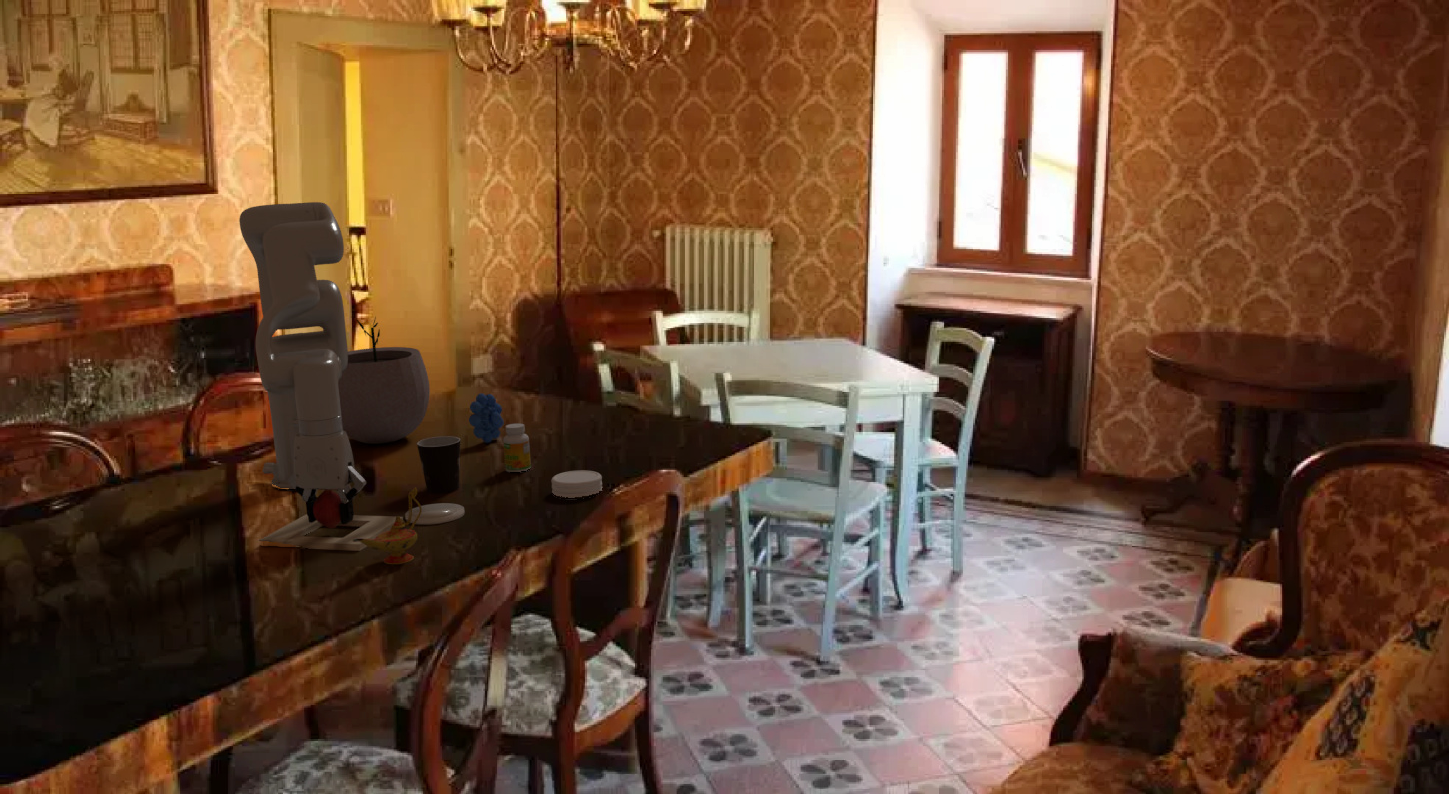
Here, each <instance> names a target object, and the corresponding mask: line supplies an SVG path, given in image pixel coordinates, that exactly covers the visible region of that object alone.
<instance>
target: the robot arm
mask: <svg viewBox="0 0 1449 794" xmlns="http://www.w3.org/2000/svg"><path fill="white" fill-rule="evenodd" d="M238 221H239V229H240V233H241V236H242V237H243V240H244V243H245V245H246V246H247V248H248V249H249V251H250V253H251V255H252V257H253V260H254V262H255V264H256V270H257V278H258V279H257V280H258V288H259V289H258V290H259V296H260V305H261V307H260V308H261V313H262V319H261V321H260V322H259V324H258V327H257V330H256V335H255V354H256V359H257V367H258V371H259V378H260V381H261V384H262V386H263V388H264V390H265V391H266V392H267V396H268V403H269V408H270V409H269V410H270V412H269V413H270V416H271V417H270V418H271V419H270V420H271V425H272V434H273V435H272V436H273V442H274V451H275V461H276V462H265V463H264V464H263V468H262V473H263V474H268V475H269V474H272V475H273V478H272V479H271V480H272V481H271V482H270V484H271V483H272V484H273V485H276V486H278V487H280V488H289V489H296V490H295V492H296V493H298V494H299V496H301V499H302V501H303V502H305V507H306V514H307V516H308V519H309V522H310V523H313V522H314V521H316V518H315V517H314V514H313V506H314V503H315V501H316V499H317V498H318V496H317V492H318V490H319V491H320V490H321V491H325V490H332V491H336V493H337V494H338V495H339V497H340V499H341V501H342V503H340V504H339V509H340V518H341V523H342V524H347V523H348V522H350V521H351V520H353V516H354V515H355V513H354V505H353V504H354V503H353V502H354V501H353V500H354V499H355V498H356V497H357V495H358V494H359V493H360V491H361V490H362V489H364V487H365V486H366V485H367V480H365V478H364V477H363V476H362V475H361V474H360V473H359V472H358V471H357V470H356V467H355V460H354V455H353V451H352V447H351V442H350V440H349V437H348V436H347V433H346V431H343V426H342V416H341V408H340V398H339V388H338V382H339V379H340V378H341V376H342V373H343V372H344V371H345V370H346V368H347V365H348V350H349V349H348V339H347V331H346V330H347V329H346V319H345V317H346V316H345V310H344V309H345V308H344V301H343V297H342V292H341V290H340V288H339V287H338V285H337V283H335V282H334V281H332V280H330V279H317V273H316V269H315V266H320V265H321V266H323V265H333V264H334V265H335V264H337V263H339V262H340V261H342V259H343V258H344V257H343V256H344V251H345V248H344V246H345V245H344V238H343V233H342V230H341V227H340V225H339V223H338V221H337V219H336V217H335V214H334V213H333V210H332V209H331V207H330V206H329V205H328V204H327V203H325V202H320V201H319V202H318V201H316V202H315V201H312V202H311V201H309V202H296V203H295V202H293V203H277V204H273V203H272V204H264V205H263V204H262V205H255V206H252V207H248V208H246V209H244V210H243V211H242V212H241V213H240V215H239V219H238ZM314 327H318V328H321V329H322V330H318V331H311V332H310V331H308V332H298V333H297V332H296V333H286V334H281V335H280V334H279V335H274V334H275V333H276V332H277V331H279V330H282V331H283V330H295V329H306V328H314ZM352 483H354V485H353V486H351V484H352ZM272 484H271V485H272Z"/></svg>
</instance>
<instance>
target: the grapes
mask: <svg viewBox="0 0 1449 794" xmlns="http://www.w3.org/2000/svg"><path fill="white" fill-rule="evenodd" d="M469 409H470V411H471V413H472V414H471V415H469V418H468V422H469V424H470V425H471V426H472V427H473V430H472V431H473V435H474V436H475V437H476V438H477V439H481V440H482V441H483V443H486V444H489V443H492V441H493V440H495V439H498V438H500V436H501V431H500V428H502V427H503V426H504V424H505V423H504V419H503V417H502V415H501V414H502V412H503V408H502V405H500V404H499V403H497V400H496V398H495V396H494V395H493V394H491V393H489V394H488V393H487V394H484V393H479V394H477V396H476V397H475V401H472V402H471V403H470V405H469Z"/></svg>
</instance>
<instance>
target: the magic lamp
mask: <svg viewBox="0 0 1449 794" xmlns="http://www.w3.org/2000/svg"><path fill="white" fill-rule="evenodd" d="M417 495H418V489H417V487H414V488H412V489H411V490H410V491H409V493H408V511H409V515H411V516H408V517H409V518H410V519H409V518H408V520H407V521H406V522H405V520H404V519H403V520H402V519H400V517H401V516H399V515H398V516H395V517H396V519H395V523H394V524H393V525H392V527H391V530H390V531H386V532H384V533H381V534H379V535H378V536H377V537H376V538H375V539H373V540H371V539H354V540H353V542H357V541H359V542H361V543H363V544H365V545H366V546H367V547H368V548H370V549H371V550H372V549H373V550H374V551H375V550H376V551H379V552H387V553H388V552H389V553H390V554H389V555H388V556H386V557H385V558H384V559H383V563H385V564H387V565H402V564H406V563H409V562H411V561H413V560H414V559H415V557H414V555H412V554H409V553H408V552H406V551H405V550H407V549H410V548H411V547H412V546H413V545H414V544H415V543H416V542H417V541H418V533H417V532H416V531H415V530H414V529H413V528H414V526H415V525H416V524H415V523H416V522H417V520H418V518H419V517H420V514H421V511H422V509H421V506H422V505H421V504H420V502H419V501H418V500H417V499H416V496H417ZM413 501H414V502H415V503H416V504H417V507H419V508H420V511H419V514H418V516H417V518H416V520H415V521H414V523H413V524H412V523H410V522H411V518H412V509H413ZM410 513H411V514H410ZM401 521H403V522H401ZM409 524H411V525H410V527H409V528H407V527H406V526H409Z"/></svg>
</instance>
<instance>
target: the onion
mask: <svg viewBox="0 0 1449 794" xmlns="http://www.w3.org/2000/svg"><path fill="white" fill-rule="evenodd" d="M317 497H318V498H317V499H316V501H315V503H314V506H313V514H314V517H315V518H316V520H317V521H318V522H319V523H320V524H322V525H323V526H325V527H326V528H329V529H331V530H332V529H333V530H334V529H335V528H337V527H338V526H337V525H338V524H339V523H340V522H341V518H340V509H339V504H340V503H342V501H341V499H340V497H339V494H338V492H335V491H334V490H323V492H321V493H320V494H319V495H318V496H317Z"/></svg>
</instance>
